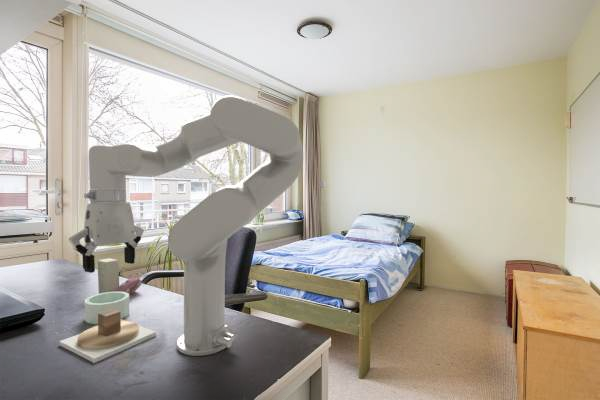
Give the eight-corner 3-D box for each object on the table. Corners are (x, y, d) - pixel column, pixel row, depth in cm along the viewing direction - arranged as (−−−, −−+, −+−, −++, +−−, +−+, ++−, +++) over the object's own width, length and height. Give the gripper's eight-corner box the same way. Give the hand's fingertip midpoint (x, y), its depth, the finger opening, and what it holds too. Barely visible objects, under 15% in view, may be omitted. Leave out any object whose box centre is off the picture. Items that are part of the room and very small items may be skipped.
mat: (156, 335, 82) (156, 331, 82) (94, 363, 69) (94, 358, 69) (121, 322, 89) (121, 319, 89) (59, 345, 76) (59, 341, 76)
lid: (149, 332, 82) (149, 309, 81) (96, 355, 70) (96, 328, 70) (120, 321, 88) (119, 299, 88) (66, 340, 77) (66, 315, 77)
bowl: (137, 313, 96) (136, 295, 95) (98, 327, 86) (98, 307, 86) (115, 306, 101) (115, 289, 101) (77, 318, 91) (76, 299, 91)
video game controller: (118, 304, 107) (127, 287, 106) (108, 297, 108) (116, 280, 107) (139, 295, 117) (146, 278, 116) (129, 288, 117) (136, 272, 116)
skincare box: (119, 294, 113) (119, 259, 112) (106, 297, 109) (106, 262, 108) (110, 290, 116) (110, 257, 116) (97, 294, 112) (97, 259, 112)
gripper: (77, 198, 68) (80, 278, 69) (150, 196, 83) (152, 261, 84) (60, 198, 72) (62, 273, 73) (132, 196, 87) (134, 258, 88)
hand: (110, 267), depth 78 cm, fingers open, 9 cm apart
